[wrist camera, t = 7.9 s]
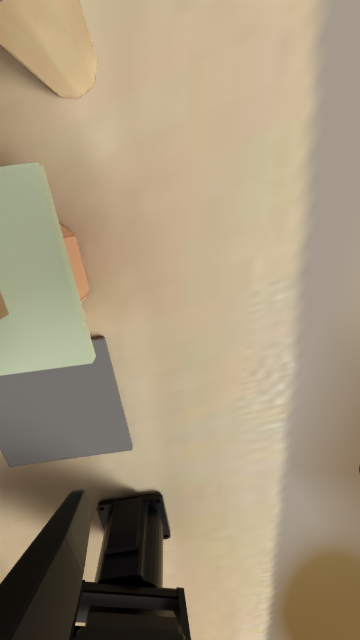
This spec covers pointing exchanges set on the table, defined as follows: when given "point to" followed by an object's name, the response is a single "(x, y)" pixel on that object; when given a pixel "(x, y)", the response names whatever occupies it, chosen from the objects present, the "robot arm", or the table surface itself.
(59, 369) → the mat
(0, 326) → the cover board
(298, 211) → the table surface
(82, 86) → the milkshake
